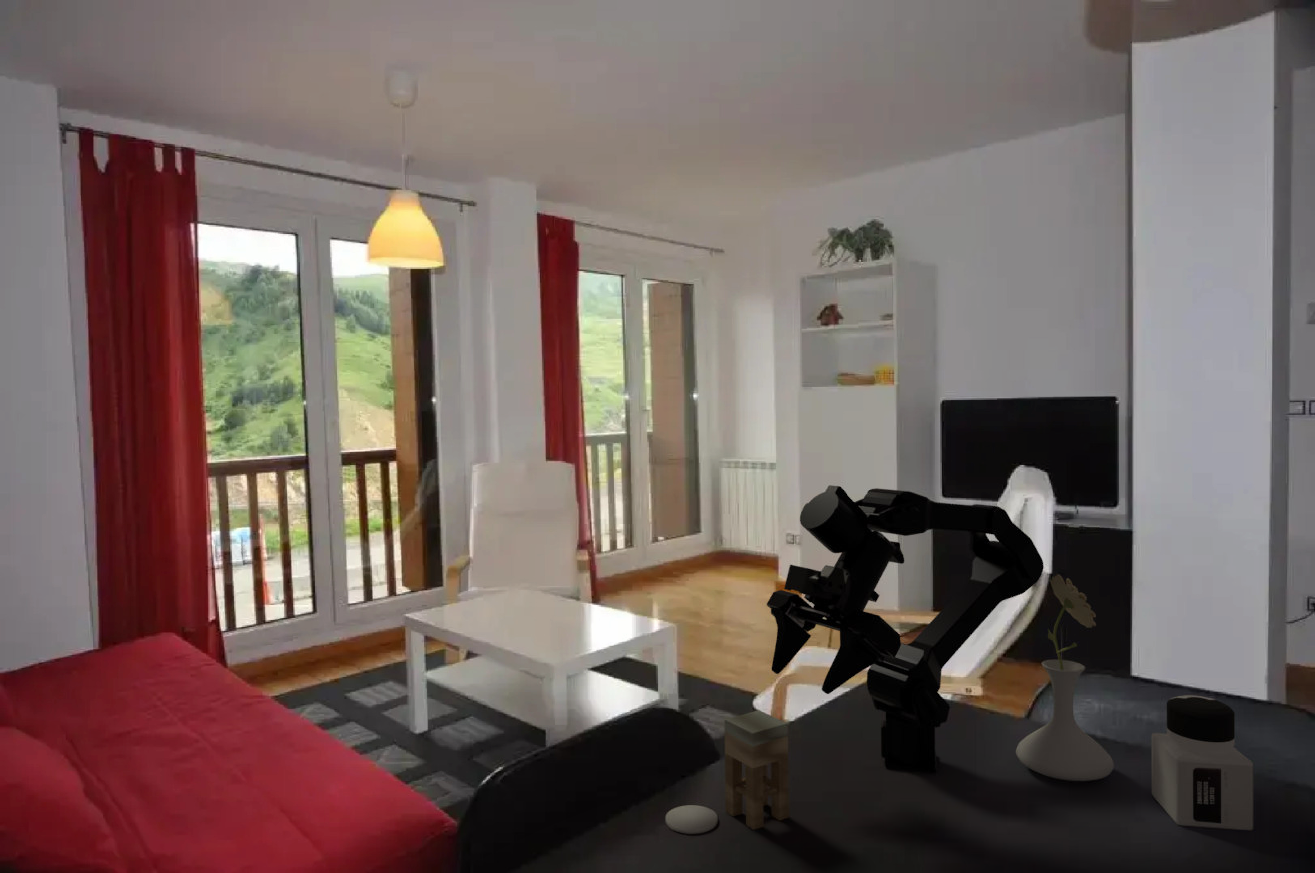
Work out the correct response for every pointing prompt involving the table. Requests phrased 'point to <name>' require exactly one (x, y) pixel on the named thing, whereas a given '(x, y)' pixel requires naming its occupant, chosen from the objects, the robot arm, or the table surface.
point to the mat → (691, 819)
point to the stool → (756, 766)
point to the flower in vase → (1065, 710)
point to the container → (1202, 766)
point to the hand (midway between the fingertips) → (798, 681)
